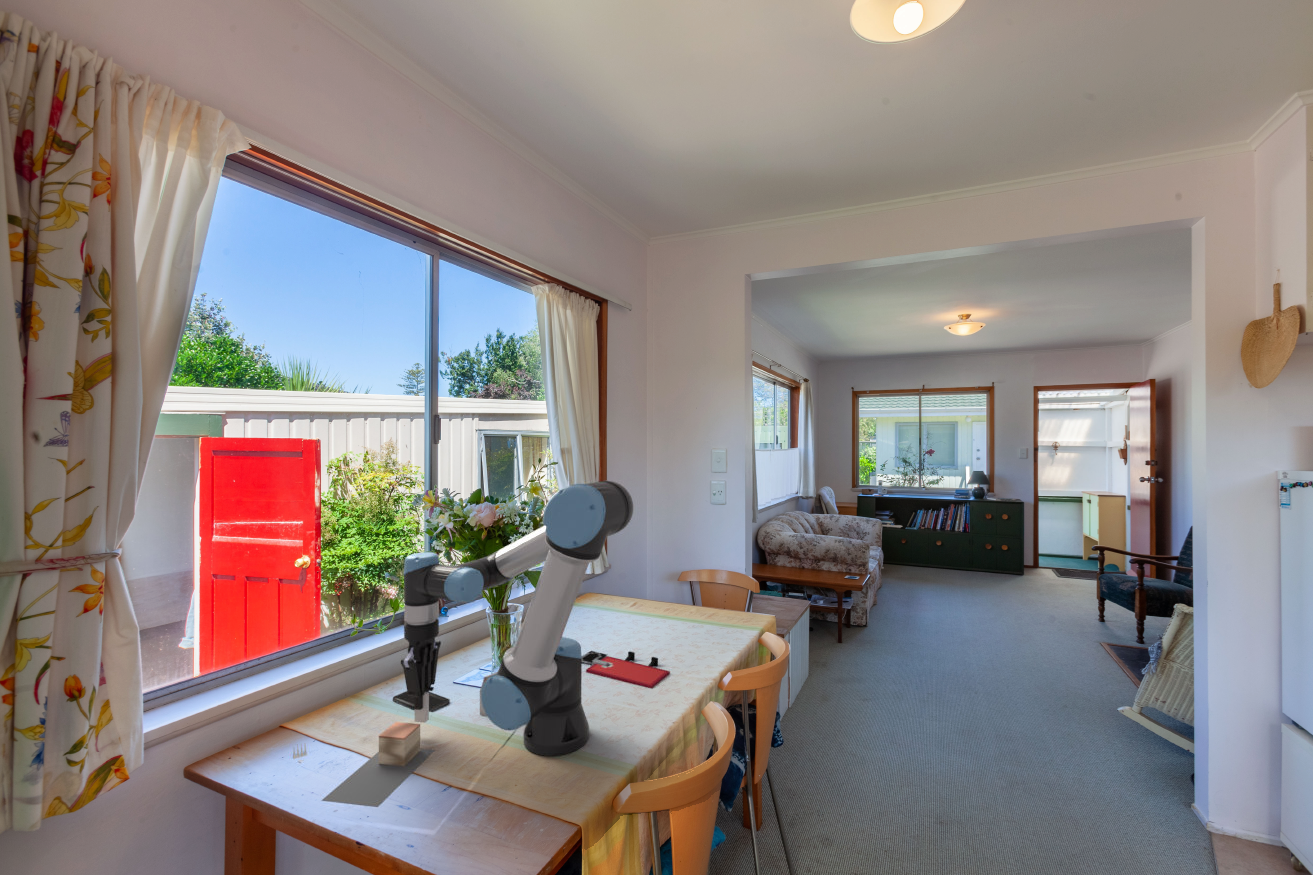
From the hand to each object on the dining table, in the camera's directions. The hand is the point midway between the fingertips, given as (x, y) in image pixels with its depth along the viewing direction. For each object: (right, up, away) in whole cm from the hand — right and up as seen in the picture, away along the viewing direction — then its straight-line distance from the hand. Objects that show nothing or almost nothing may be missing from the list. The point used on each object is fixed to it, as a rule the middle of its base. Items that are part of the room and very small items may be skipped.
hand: (421, 720), depth 134 cm
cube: (-1, -4, -8) cm, 9 cm away
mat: (-2, -5, -14) cm, 15 cm away
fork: (-21, -5, -11) cm, 24 cm away
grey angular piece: (+13, -5, +14) cm, 20 cm away
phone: (-8, -5, +19) cm, 21 cm away
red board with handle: (+44, -5, +41) cm, 60 cm away
